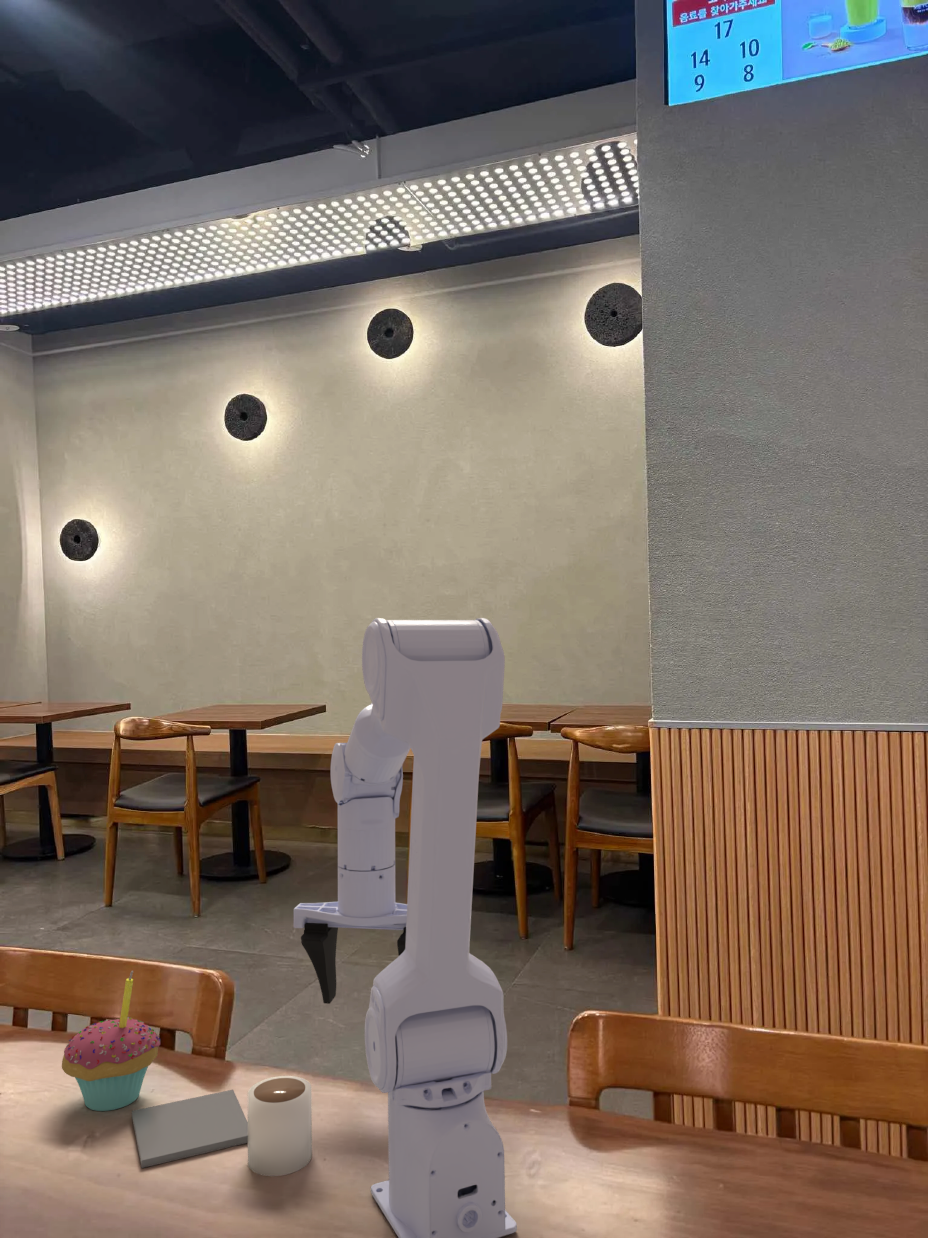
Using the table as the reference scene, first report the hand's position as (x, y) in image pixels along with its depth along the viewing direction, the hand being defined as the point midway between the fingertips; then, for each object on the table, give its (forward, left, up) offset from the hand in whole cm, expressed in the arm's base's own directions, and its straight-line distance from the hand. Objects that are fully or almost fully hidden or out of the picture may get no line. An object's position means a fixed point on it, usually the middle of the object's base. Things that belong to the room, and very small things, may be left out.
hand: (367, 1001), depth 89 cm
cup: (-11, +11, -7) cm, 17 cm away
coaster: (-3, +17, -7) cm, 19 cm away
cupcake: (+6, +23, -7) cm, 25 cm away
